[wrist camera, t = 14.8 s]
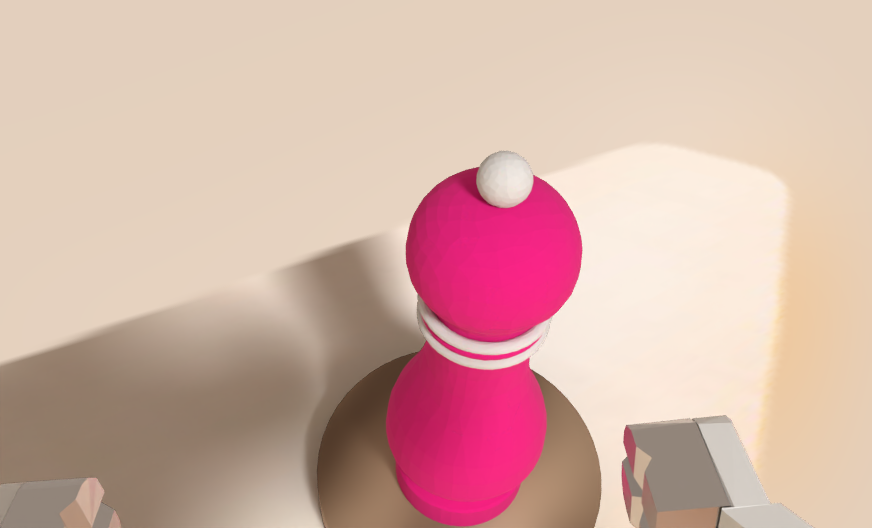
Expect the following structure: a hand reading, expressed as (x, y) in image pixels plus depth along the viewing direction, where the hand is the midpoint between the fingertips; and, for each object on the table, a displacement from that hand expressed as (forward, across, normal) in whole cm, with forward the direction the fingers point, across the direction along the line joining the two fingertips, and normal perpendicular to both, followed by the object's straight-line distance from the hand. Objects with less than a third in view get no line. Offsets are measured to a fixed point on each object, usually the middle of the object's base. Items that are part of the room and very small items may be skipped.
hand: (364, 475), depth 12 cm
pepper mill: (+18, -1, +21) cm, 28 cm away
